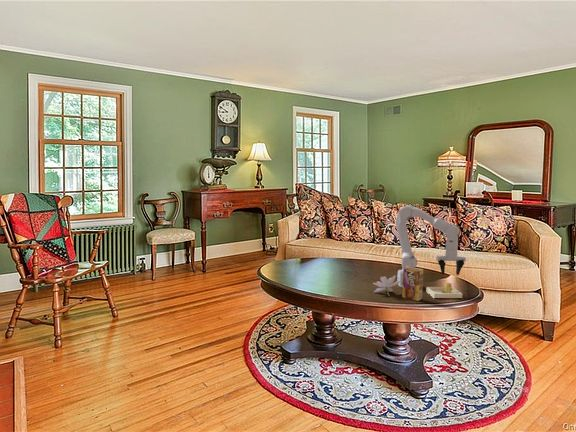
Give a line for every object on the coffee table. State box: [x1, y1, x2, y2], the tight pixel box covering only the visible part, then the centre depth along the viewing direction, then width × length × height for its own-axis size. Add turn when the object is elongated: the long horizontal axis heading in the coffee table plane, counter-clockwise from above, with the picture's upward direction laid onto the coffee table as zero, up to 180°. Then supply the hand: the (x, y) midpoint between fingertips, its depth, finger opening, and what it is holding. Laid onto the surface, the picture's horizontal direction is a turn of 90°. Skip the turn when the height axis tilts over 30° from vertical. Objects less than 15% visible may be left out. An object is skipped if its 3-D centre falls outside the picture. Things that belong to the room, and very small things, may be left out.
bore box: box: [425, 286, 463, 299], centre depth 216 cm, size 14×12×2 cm
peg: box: [443, 282, 452, 293], centre depth 216 cm, size 3×3×6 cm
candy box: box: [401, 267, 424, 302], centre depth 209 cm, size 9×4×15 cm, turn 47°
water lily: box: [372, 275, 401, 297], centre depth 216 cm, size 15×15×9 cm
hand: (450, 274), depth 221 cm, fingers open, 7 cm apart
